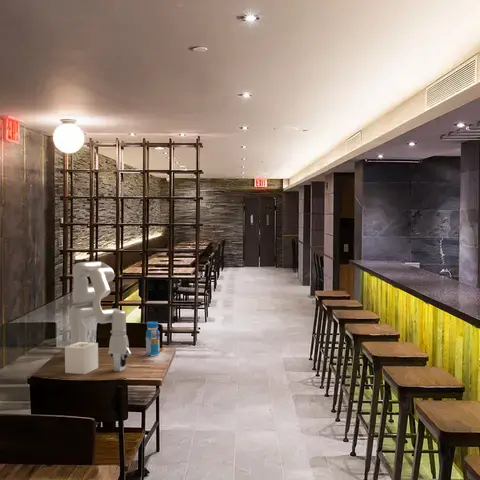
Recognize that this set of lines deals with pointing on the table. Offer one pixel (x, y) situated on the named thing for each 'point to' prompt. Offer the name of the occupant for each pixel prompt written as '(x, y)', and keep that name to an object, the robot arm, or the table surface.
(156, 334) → the beverage bottle
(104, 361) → the table surface
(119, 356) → the white rectangular block
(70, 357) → the white box with slot
